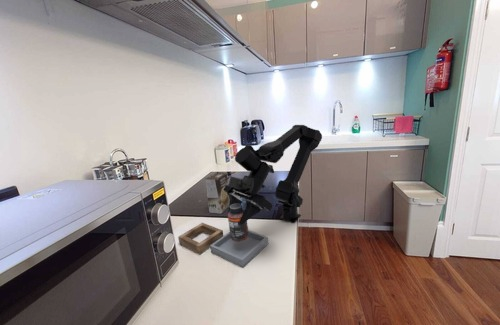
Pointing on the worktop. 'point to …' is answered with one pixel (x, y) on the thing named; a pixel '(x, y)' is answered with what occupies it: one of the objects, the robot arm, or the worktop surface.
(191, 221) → the worktop surface
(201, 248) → the walnut holder
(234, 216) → the supplement bottle
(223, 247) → the grey tray
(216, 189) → the coffee box
